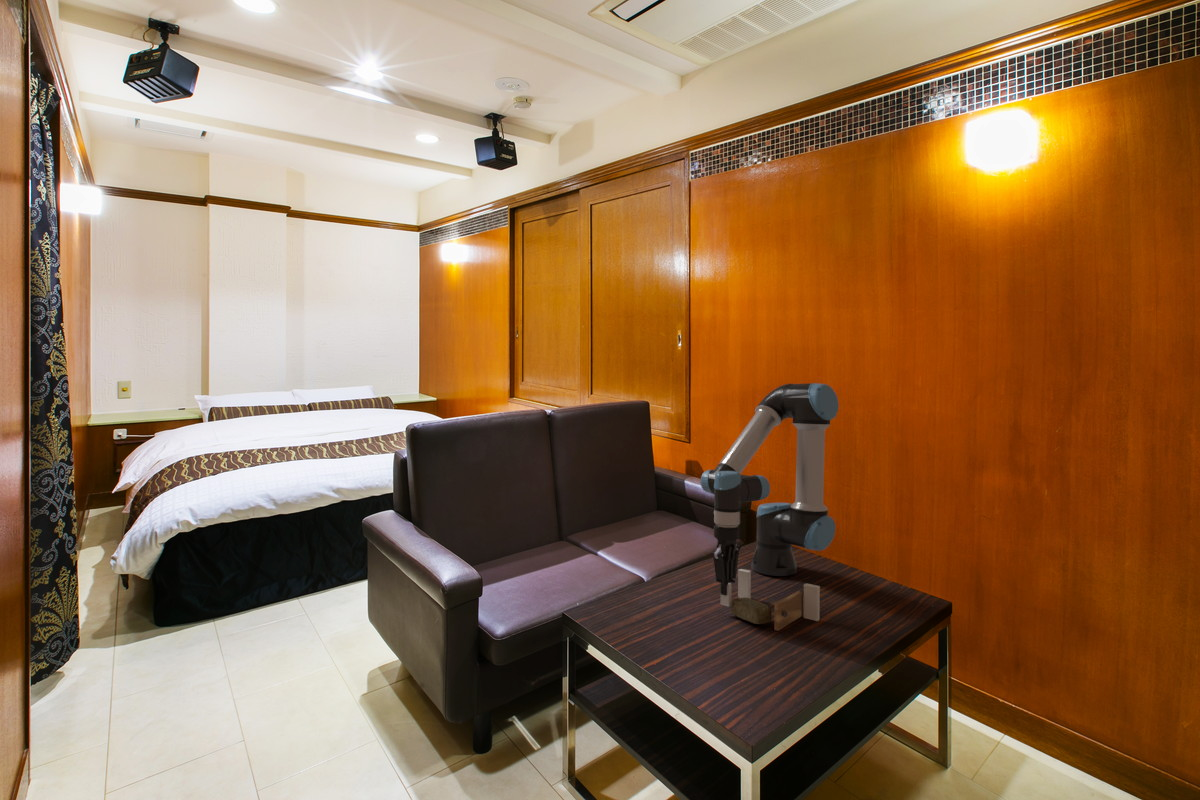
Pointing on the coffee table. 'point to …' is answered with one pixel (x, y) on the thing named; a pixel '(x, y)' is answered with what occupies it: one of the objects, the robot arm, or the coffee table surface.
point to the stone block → (751, 610)
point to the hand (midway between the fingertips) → (725, 604)
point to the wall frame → (809, 594)
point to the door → (788, 610)
